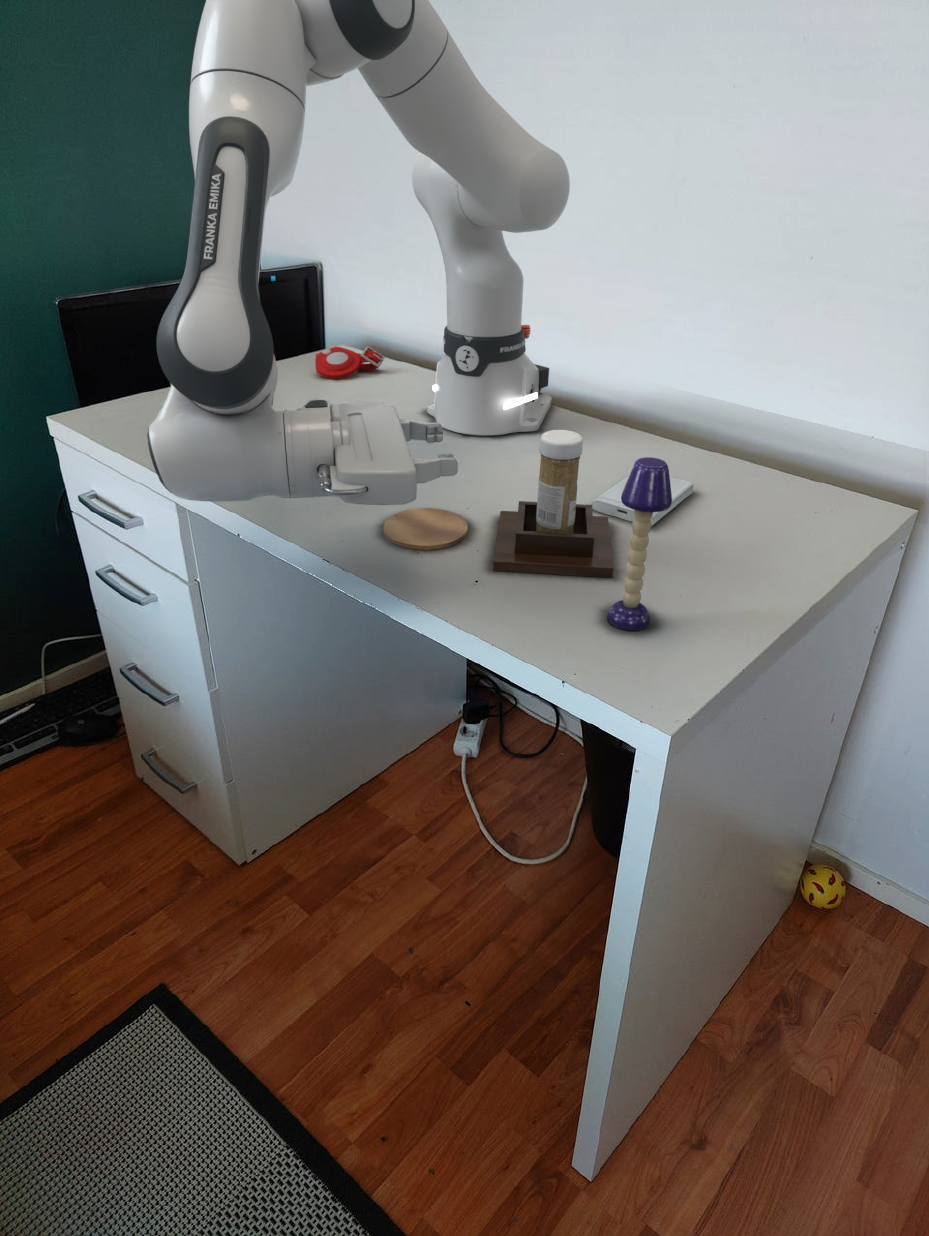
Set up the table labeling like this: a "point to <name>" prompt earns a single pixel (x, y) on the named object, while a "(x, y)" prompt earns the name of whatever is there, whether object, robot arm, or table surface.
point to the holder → (553, 544)
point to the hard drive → (615, 507)
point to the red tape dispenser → (345, 362)
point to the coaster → (425, 529)
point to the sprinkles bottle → (558, 481)
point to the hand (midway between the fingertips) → (449, 447)
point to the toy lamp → (640, 536)
